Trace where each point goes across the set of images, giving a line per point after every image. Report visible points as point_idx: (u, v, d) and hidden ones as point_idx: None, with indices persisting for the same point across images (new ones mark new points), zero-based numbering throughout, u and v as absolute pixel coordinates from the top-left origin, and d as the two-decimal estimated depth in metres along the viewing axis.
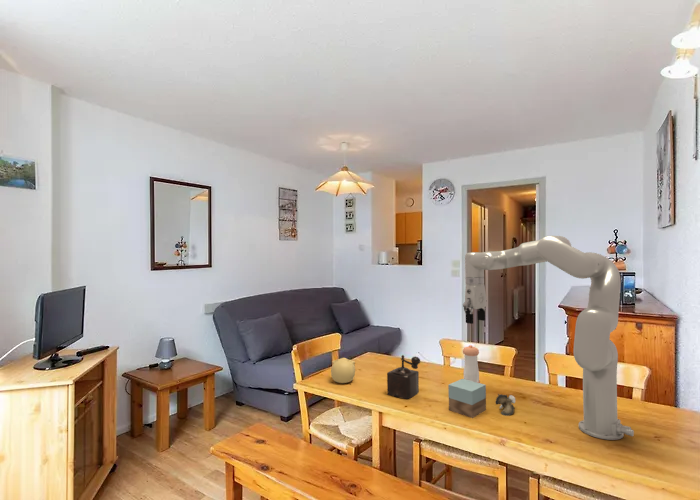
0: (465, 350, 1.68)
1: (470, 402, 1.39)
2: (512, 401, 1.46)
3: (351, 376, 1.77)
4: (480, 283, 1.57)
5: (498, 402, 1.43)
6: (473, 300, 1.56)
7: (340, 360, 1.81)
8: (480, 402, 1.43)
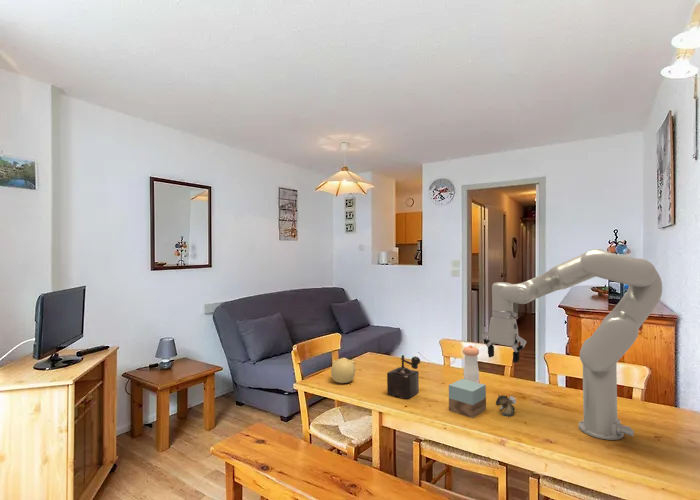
0: (465, 350, 1.68)
1: (471, 402, 1.39)
2: (512, 402, 1.45)
3: (351, 376, 1.77)
4: None
5: (498, 403, 1.42)
6: None
7: (340, 360, 1.81)
8: (480, 402, 1.43)
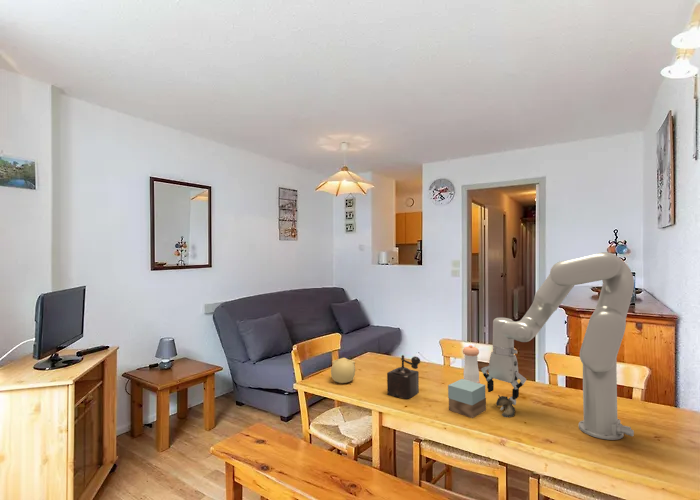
0: (465, 350, 1.68)
1: (470, 402, 1.39)
2: (512, 403, 1.44)
3: (351, 376, 1.77)
4: None
5: (499, 404, 1.42)
6: None
7: (340, 360, 1.81)
8: (480, 402, 1.43)
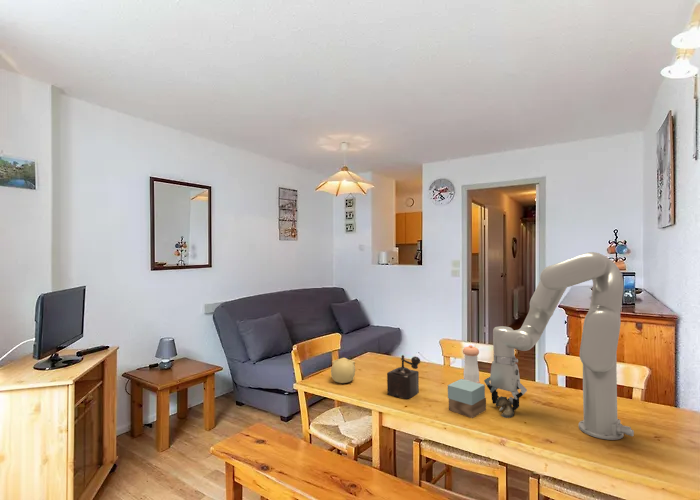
0: (465, 350, 1.68)
1: (470, 402, 1.39)
2: (511, 403, 1.44)
3: (351, 376, 1.77)
4: None
5: (498, 404, 1.41)
6: (519, 380, 1.43)
7: (340, 360, 1.81)
8: (480, 402, 1.43)
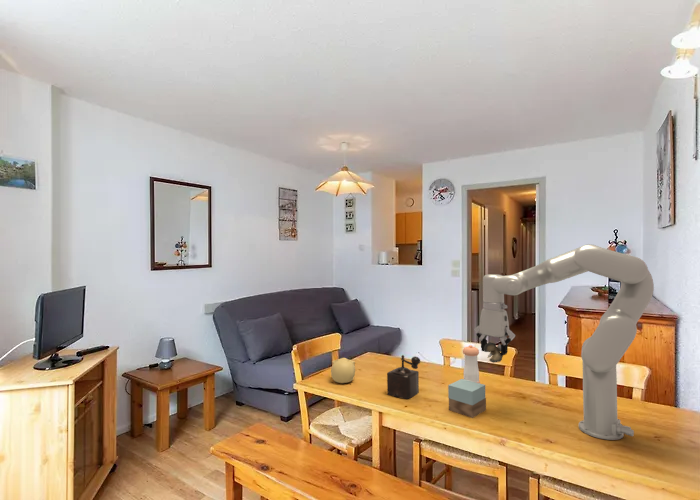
0: (465, 350, 1.68)
1: (470, 402, 1.39)
2: (500, 350, 1.45)
3: (351, 376, 1.77)
4: None
5: (487, 350, 1.42)
6: (508, 327, 1.43)
7: (340, 360, 1.81)
8: (480, 402, 1.43)
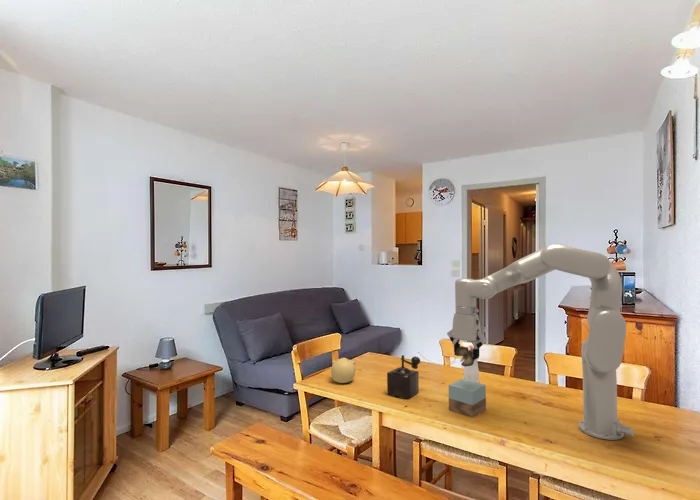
0: None
1: (471, 402, 1.39)
2: None
3: (351, 376, 1.77)
4: None
5: (458, 354, 1.42)
6: (480, 331, 1.44)
7: (340, 360, 1.81)
8: (480, 402, 1.43)
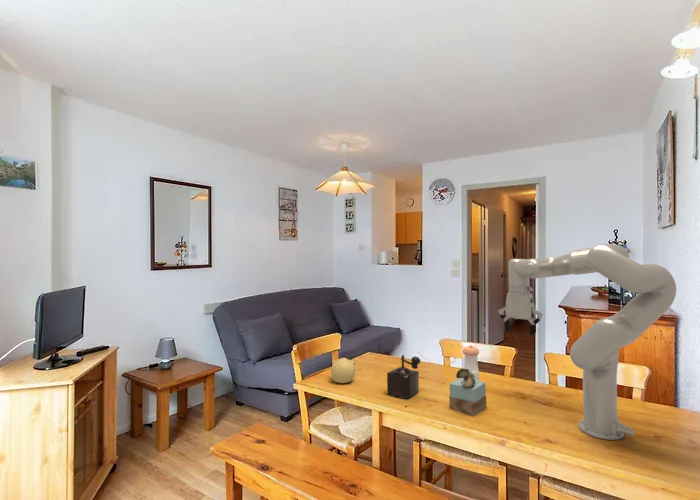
0: (465, 350, 1.68)
1: (472, 400, 1.41)
2: (473, 375, 1.47)
3: (351, 376, 1.77)
4: None
5: (459, 376, 1.45)
6: None
7: (340, 360, 1.81)
8: (480, 400, 1.44)
